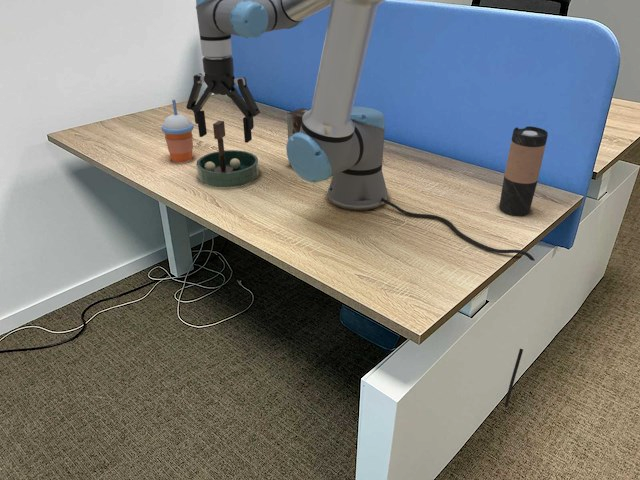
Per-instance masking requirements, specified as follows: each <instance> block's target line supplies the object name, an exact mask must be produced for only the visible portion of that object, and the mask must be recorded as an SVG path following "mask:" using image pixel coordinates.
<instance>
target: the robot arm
mask: <svg viewBox="0 0 640 480" xmlns="http://www.w3.org/2000/svg"><path fill="white" fill-rule="evenodd" d="M385 1H386V0H195V9H196V17H197V26H198V33H199V41H200V50H201V56H202V57H203V58H202V69H203V73H204V75H203V74H202V73H197V74H195V75H193V84H192V88H191V90H190V94H189V97H188V100H187V103H186V106H185V107H186V108H185V109H187V110H189V111H192V112H193V116H194V122H195V125H197V128H198V136H199V138H203V137H205V136H206V135H207V134H208V133H207V124H206V115H205V110H203V108H204V106H205V104H206V103H207V101H208V99H209V98H210V97H211V96H212V95H221V96H227V97H228V98H229V99H231V101H232V102H233V103H234V104H235V106H236V107H237V108H238V109H239V111H240V112H241V113H242V114H243V116H244V117H243V118H242V123H243V137H244V138H243V139H244V143H246V144H247V143H249V142H250V141H252V139H253V137H252V130H253V129H254V127H255V125H254V117H256V116H258V115H259V114H260V113H261V112H260V111H261V110H260V108H259V107H258V105H257V103H256V101H255V99H254V97H253V94H252V92H251V91H250V88H249V87H248V83H247V78H246V77H245V76H242V77H238V78H237V77H235V75H234V72H235V68H234V57H232V55H233V45H232V35H233V36H238V37H241V38H246V39H248V38H253V39H255V38H259V37H261V36H262V35H263V34H265V33H268V32H269V33H270V32H272V31H279V30H290V29H293V28H295V27H299V26H301V25H302V23H303V22H304V20H305V19H307V18H309V17H310V16H313V15H315V14H317V13H319V12H321V11H322V10H325V9H327V8H328V7H330V8H329V9H330V11H329V15H328V21H327V25H326V31H325V35H324V36H325V37H324V40H323V46H322V51H321V57H320V62H319V68H318V72H317V78H316V83H315V87H314V92H313V97H312V103H311V107H310V109H308V110H309V111H307V112H305V113H304V115H303V117H302V123H301V128H300V132H299V133H295V134H293V135H292V136H291V137H290V138H289V140H288V139H287V141H286V149H285V150H286V156H287V159H288V163H289V162H290V164H291V165H290V166H291V168H292V170H293V171H294V173H296V175H297V176H298V177H300V178H301V180H304V181H306V182H308V183H311V184H312V183H313V184H316V183H319V182H322V181H327V180H329V179H330V178H331V180H330V183H329V186H328V190H327V199H328V201H329V203H331V204H333V206H335V207H338V208H341V209H344V210H347V211H348V210H350V211H358V212H359V211H370V210H375V209H378V208H380V207H382V206H384V205H385V204H386V205H388V206H390V207H392V208H394V209H395V210H397V211H398V212H400V213H402V214H404V215H407V216H411V217H416V218H429V219H435V220H439V221H442V222H443V223H445V224H447V225H448V227H450V228H451V230H452V231H454V233H456V234H457V235H458V236H459V237H461V238H463V239H464V240H465V241H467V242H469V243H471V244H472V245H475V246H477V247H478V248H481V249H483V250H487V251H489V252H492V253H495V254H521V255H523V256H524V257H525V256H526V257H527V258H528V259H529V260H530V261H532V262H534V261H536V259H535V258H534V257H533V256H532V255H531V254H530V253H529V252H528V251H525V250H522V249H501V248H494V247H491V246H488V245H486V244H482V243H481V242H478V241H477V240H475V239H473V238H471V237H469V236H468V235H466V234H464V233H463V232H461V231H460V230H458V228H457V227H456V225H454V224H453V223H452V222H451V221H450V220H448V219H446V218H444V217H443V216H439V215H435V214H427V213H415V212H410V211H407V210H405V209H403V208H401V207H399V206H398V205H396V204H394V202H391V201H389V200H388V188H387V185H386V181H385V175H384V173H383V159H384V147H385V146H384V145H385V130H386V118H385V115H384V113H382V112H381V111H380V110H377V109H375V108H371V107H364V106H356V105H354V104H355V100H356V96H357V93H358V89H359V84H360V81H361V76H362V72H363V69H364V64H365V61H366V56H367V52H368V49H369V44H370V41H371V36H372V32H373V28H374V25H375V20H376V16H377V12H378V9H379V6H380V5H381V4H382V3H384V2H385ZM204 83H205V85H206V86H207V87H206V88H205V89H204V91H203V93H202V95H201V96H200V92H201V89H202V86H203V84H204ZM235 86H236V87H237V88H238V89H237V88H236V87H235ZM238 90H239V91H238ZM239 92H240V93H239ZM199 96H200V98H199ZM198 98H199V99H198ZM523 352H524V349H523V348H519V350H518V354H517V358H516V361H515V364H514V368H513V372H512V375H511V378H510V381H509V386H508V389H507V393H506V398H505V402H504V408H508V407H509V403H510V398H511V394H512V390H513V387H514V383H515V380H516V376H517V373H518V369H519V366H520V363H521V359H522V355H523Z"/></svg>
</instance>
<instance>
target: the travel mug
mask: <svg viewBox="0 0 640 480" xmlns="http://www.w3.org/2000/svg"><path fill="white" fill-rule="evenodd" d="M548 135H549V133H548V131H547V130H546V129H543V128H541V127H537V126H531V125H530V126H526V127H523V128H519V127H515V128H513V129H512V135H511V140H510V145H509V149H508V155H507V160H506V164H505V169H504V174H503V181H502V186H501V187H502V188H501V193H500V199H499V210H500V211H501V212H503V213H504V214H506V215H509V216H515V217H523V216H526V215H528V214H529V212H530V211H531V207H532V203H533V199H534V197H535V192H536V190H537V189H536V188H537V185H538V182H539V181H538V180H539V178H540V177H539V176H540V172H541V167H542V163H543V159H544V154H545V149H546V146H547V145H546V144H547V140H548Z"/></svg>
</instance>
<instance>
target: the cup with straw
mask: <svg viewBox="0 0 640 480" xmlns="http://www.w3.org/2000/svg"><path fill="white" fill-rule="evenodd" d="M172 109H173V114H170V115H169V116H167V117H166V118H165V119H164V122H163V124H162V125H161V131H162V133H164V135H165V136H164V138H165V143H166V146H167V151H168V153H169V155H170V160H171V162H172V161H173V162H174V163H184V162H189V161H191V160H192V159H193V156H194V155H193V150H194V140H193V139H194V138H193V137H194V136H193V130H194V123H193V122H192V121H190V119H189V118H188V117H187V116H186V115H184V114H180V113H178V109H177V102H176V99H172Z"/></svg>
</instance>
